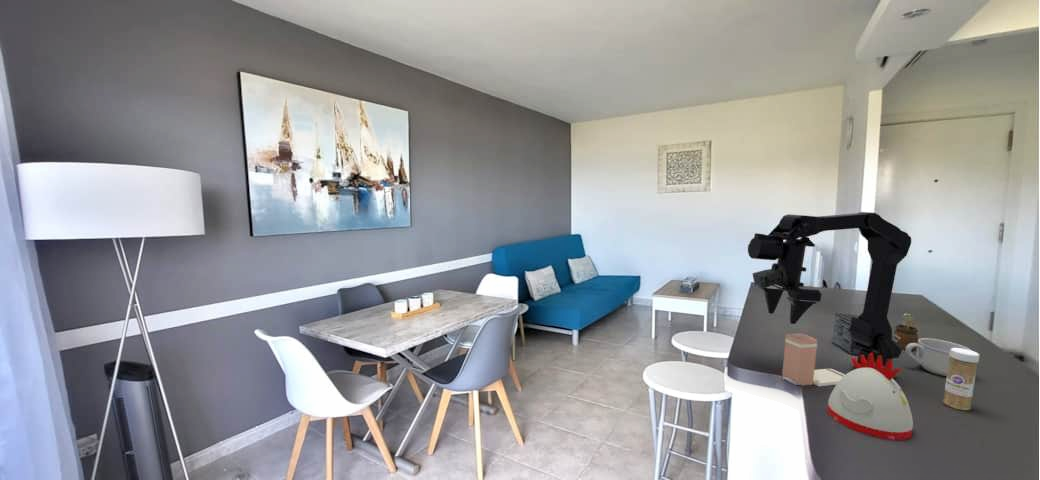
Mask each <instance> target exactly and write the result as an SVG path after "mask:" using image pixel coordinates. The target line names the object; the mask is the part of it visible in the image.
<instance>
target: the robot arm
mask: <svg viewBox="0 0 1040 480" xmlns="http://www.w3.org/2000/svg"><path fill="white" fill-rule="evenodd" d="M851 229H852V230H853V229H858V231H859V233H860V236H861V237H863V238H864V239H865V240H866V241H867V251H868V255H869V257H870V259H871V261H872V262H871V267H870V272H869V278H868V284H867V287H866V294H865V299H864V300H865V301H864V306H863V311H862V313H860V315H858V316H859V317H858V318H855V317H852V319H851V326H850V328H849V331H851V337H852V338H853V339H854V343H855V346H857V347H860V348H862V349H860V354H859V355H857V359H856V360H857V362H858V363H859V364H860V365H861V361H860V355H864V357H865V359H866V361H867V359H868V356H869V353H873V356H874V362H875V363H876V360H877V357H878V356H879V355H881V357H882V363H883V366H884V367H885V365H886V364H887V362H888V361H889V360H891V359H892V360H894V359H899V358H900V356H901V354H902V349H900V348H899V347H898V346H897V345H896V344H895V343H894V342H893V341H892V339H893V329H892V326H891V324H890V322H889V318H888V313H889V308H890V302H891V298H892V293H893V286H894V283H895V277H896V272H897V269H898V268H897V267H898V264H899V263H900V262H902V261H903V260H904V258H906V257H907V256H908V253H909V249H910V247H911V245H912V237H911V236H910V235H909V234H908V233H907V232H906V231H904V230H902V229H901V228H899V227H898V226H897V225H894V224H892V223H891V222H889V221H887V220H885V219H884V218H883V217H882V216H880V214H878V213H876V212H870V211H869V212H867V211H866V212H865V211H859V212H857V213H845V214H832V215H821V216H820V215H819V216H814V215H813V216H812V215H802V214H792V213H791V214H785V215H784V216H782V218H780V221H779V223H778V224H777V225H776V226H775V227H774V228H773V229H772V230H771V231H769V233H768V234H765V233H754V237H753V238H751V239H750V242H749V244H748V246H747V253H748V256H749V258H751V259H754V260H755V259H756V260H768V261H776V260H777V261H776V262H773V264H771V268H769V269H764V270H760V271H755V272H753V273H752V278H753V283H754V285H755V286H757V287H758V289H760V290H761V291H762V292H763V294H764V297H765V302H766V306H767V312H768V313H769V314H771V315H772V314H774V313H775V311H776V309H777V308H778V304H779V303H780V300H781V298H782V296H783V293H784V291H785V292H787V295H788V296H787V297H786V299H787V300H788V302H789V303H790V309H789V310H790V311H789V313H790V314H789V323H790V324H792V325H796V323H797V322H798V321H799V320H800V319H801V317H802V316H803V315H804V314H805V313H806V312H807V311H808V309H810V308H811V306H813V305H815V304H816V305H817V303H818V302H820V303H821V302H822V296H823V294H822V292H821V290H819V289H817V288H816V289H815V288H813V287H811V286H805V285H804V284H805V283H804V282H801V279H802V274H803V273H802V272H805V273H806V272H807V267H804V261H805V260H804V259H805V253H806V249H807V248H806V247H809V248H810V247H812V248H813V247H815V246H816V245H815V243H814V242H813V241H812V240H811V239H810V237H812V236H815V235H818V234H820V233H821V232H822V233H823V232H827V231H838V230H839V231H840V230H851ZM852 368H853V370H855V367H854V365H853V367H852ZM893 379H896V375H895V376H894V377H893Z"/></svg>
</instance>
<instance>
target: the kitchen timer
mask: <svg viewBox="0 0 1040 480" xmlns="http://www.w3.org/2000/svg"><path fill="white" fill-rule="evenodd" d="M857 360H858V359H856V357H855V356H854V357H852V358H851V361H852V364H853V366H854V367H855V369H852V370H851V371H849V372H847V373H846V374H845V376H844V377H842V378H841V380H840V381H839V382H838V383H837V384H836V385H834V388H833V390H832V392H831V393H830V394H829V395H830V396H829V398H828V402H827V408H826V409H827V413H828V415H829V416H830V417H831V418H832V419H833V420H835V421H836V422H837V423H840V424H841V425H843V426H844V427H846V428H849V429H852V430H853V429H854V431H856V432H858V433H861V434H865V435H868V436H871V437H874V438H879V439H884V440H894V441H901V440H907V439H910V438H911V437H912V436H913V429H914V421H913V416H912V411H911V407H910V404H909V400H908V399H907V396H906V395H905V392H903V391H904V390H902V388H901V386H900V385H899V384H898V383H897V382H896V380H894V379H893V377H894V376H895V377H896V375H898V373H900V370H901V367H898V368H896V369H894V370H893V359H891V360H889V361H888V362H887V364H886V365H885V367H884V366H883V363H882V357H881V355H879V356H878V357H877V360H876V363H875V362H874V356H873V353H869V356H868V359H867V361H866V359H865V357H864V355H860V361H861V365H860V364H859V363H858V362H857Z"/></svg>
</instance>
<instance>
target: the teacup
mask: <svg viewBox="0 0 1040 480" xmlns="http://www.w3.org/2000/svg"><path fill="white" fill-rule="evenodd" d="M913 347H917V349H916V354H915V355H914V354H913V353H912V351H911V349H912V348H913ZM951 348H962V349H967V350H971V351H973V350H972V349H970V348H969V347H967V346H965V345H962V344H959V343H955V342H952V341H948V340H943V339H937V338H927V337H923V338H922V337H921V338H918V344H917V343H910V344H908V345H907V346H906V349H905V350H904V351H905V353H906V354H907V356H909V358H912V360H914V361H915V362H916V363H917V364H919V365H920V366H921V367H922V368H923V369H924V370H926V371H928V372H929V373H933V374H935V375H939V376H943V377H947V374H948V368H949V362H950V356H949V354H950V349H951Z"/></svg>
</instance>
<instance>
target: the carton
mask: <svg viewBox="0 0 1040 480" xmlns="http://www.w3.org/2000/svg"><path fill="white" fill-rule="evenodd" d="M817 347H818V339H817V338H815V337H812V336H809V335H807V334H804V333H788V334H785V339H784V352H783V363H782V374H781V377H782V376H784V377H787V378H790V379H793V380H795V381H796V382H798V383H799V384H801V385H802V386H811V385H812V386H813V385H814V384H813V379H814V370H816V369H815V367H816V359H817V356H816V355H817Z"/></svg>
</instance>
